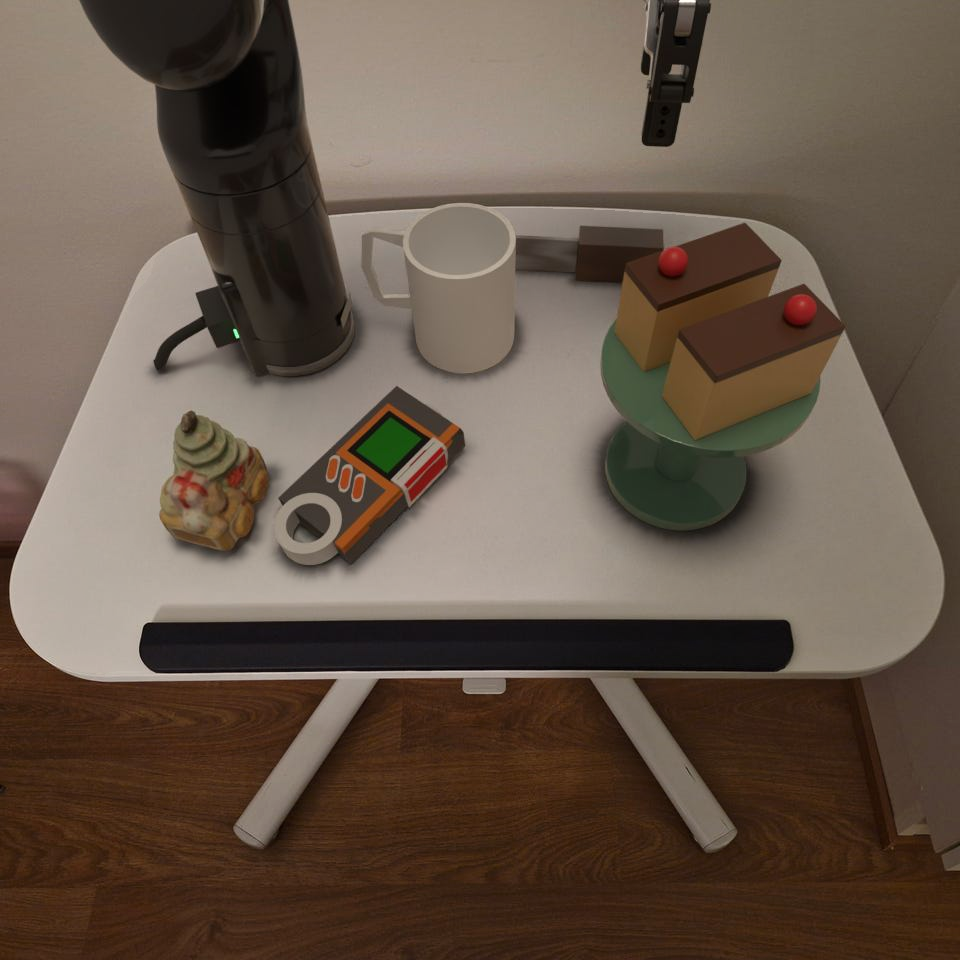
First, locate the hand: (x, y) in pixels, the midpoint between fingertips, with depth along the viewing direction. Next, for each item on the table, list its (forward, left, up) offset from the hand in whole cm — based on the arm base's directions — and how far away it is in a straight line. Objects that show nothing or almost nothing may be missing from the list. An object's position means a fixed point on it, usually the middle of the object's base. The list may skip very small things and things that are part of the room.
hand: (655, 107), depth 56 cm
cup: (-17, +1, -16) cm, 23 cm away
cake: (-7, -19, -4) cm, 21 cm away
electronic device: (-28, -11, -16) cm, 34 cm away
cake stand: (-7, -19, -16) cm, 26 cm away
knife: (-4, +3, -16) cm, 16 cm away
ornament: (-38, -8, -16) cm, 42 cm away
